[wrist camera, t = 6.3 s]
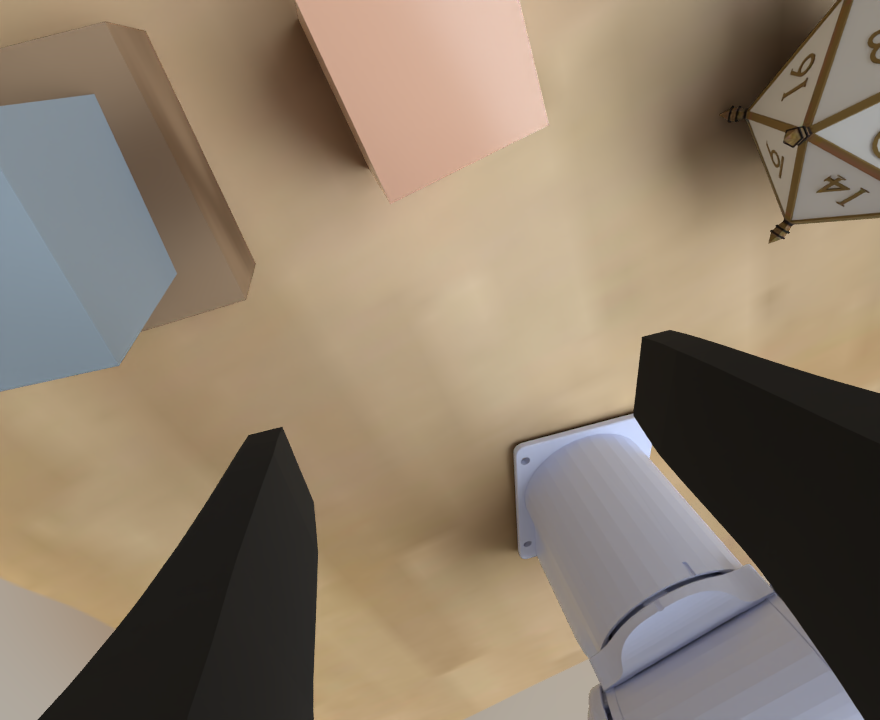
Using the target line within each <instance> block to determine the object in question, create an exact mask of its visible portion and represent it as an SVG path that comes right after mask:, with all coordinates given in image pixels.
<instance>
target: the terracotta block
mask: <svg viewBox="0 0 880 720" xmlns="http://www.w3.org/2000/svg"><path fill="white" fill-rule="evenodd" d="M295 4H296V10H297V16H298V20H299V22H300V24H301V26H302V28H303V30H304V32H305V34H306V36H307V39H308V41H309V43H310V45H311V47H312V49H313V51H314V53H315V56H316V58H317V60H318V62H319V64H320V66H321V68H322V70H323V72H324V75H325V77H326V79H327V81H328V83H329V85H330V87H331V89H332V91H333V94H334V96H335V98H336V100H337V102H338V104H339V106H340V108H341V110H342V113H343V115H344V117H345V119H346V121H347V123H348V125H349V127H350V129H351V132H352V134H353V136H354V138H355V140H356V142H357V144H358V146H359V148H360V151H361V153H362V155H363V157H364V159H365V161H366V163H367V165H368V167H369V169H370V171H371V173H372V174H373V176H374V178H375V179H376V181H377V183H378V184H379V186H380V187H381V189H382V191H383V192H384V194H385V196H386V197H387V199H388V201H389V202H390V204H391V203H393V202H395V201H397V200H399V199H401V198H403V197H405V196H407V195H409V194H411V193H413V192H415V191H417V190H419V189H421V188H423V187H425V186H427V185H430V184H432V183H434V182H436V181H438V180H440V179H442V178H444V177H446V176H448V175H450V174H452V173H454V172H456V171H458V170H460V169H462V168H464V167H466V166H468V165H470V164H472V163H474V162H476V161H478V160H480V159H482V158H484V157H486V156H488V155H490V154H492V153H494V152H496V151H498V150H500V149H502V148H504V147H506V146H508V145H510V144H512V143H514V142H516V141H518V140H520V139H522V138H524V137H526V136H528V135H530V134H532V133H534V132H536V131H538V130H540V129H542V128H544V127H546V126H548V125H549V122H548V118H547V114H546V109H545V105H544V101H543V97H542V93H541V88H540V84H539V80H538V76H537V72H536V67H535V63H534V59H533V55H532V50H531V46H530V42H529V38H528V34H527V29H526V25H525V21H524V17H523V13H522V8H521V4H520V0H295Z"/></svg>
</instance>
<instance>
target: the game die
mask: <svg viewBox="0 0 880 720" xmlns="http://www.w3.org/2000/svg"><path fill="white" fill-rule="evenodd" d="M720 116H721V117H723V118H725V119H726V120H728V122H729V123H731V121H736V122H738V120H742V119H746V121H747V123H748V126H749V129H750V131H751V134H752V136H753V139H754V142H755V144H756V147H757V149H758V152H759V155H760V157H761V160H762V162H763V165H764V168H765V170H766V173H767V175H768V178H769V181H770V183H771V186H772V188H773V191H774V194H775V196H776V199H777V201H778V204H779V207H780V209H781V212H782V215H783V217H784V221H783V222H782V223H780V224H779V225H776V228H775V229H774V230H771V231H770V232H771V235H770V239H769V243H772V242H774V241H777V240H780V239H785V238H784V236H785V235H786V234H787V233H788V234H789V233H790V232H789V230H790V228H791V226H792V225H795V224H808V223H820V222H833V221H846V220H859V219H872V218H880V0H837V2H836V3H835V4H834V5H833V7H832V8H831V9H830V10H829V11H828V13H827V14H826V15H825V16H824V17H823V19H822V20H821V21H820V22H819V24H818V25H817V26H816V27H815V28H814V30H813V31H812V32H811V33H810V34H809V36H808V37H807V38H806V39H805V41H804V42H803V43H802V44H801V45H800V47H799V48H798V49H797V50H796V51H795V53H794V54H793V55H792V56H791V58H790V59H789V60H788V61H787V62H786V64H785V65H784V66H783V67H782V69H781V70H780V71H779V72H778V73H777V75H776V76H775V77H774V78H773V79H772V81H771V82H770V83H769V84H768V86H767V87H766V88H765V89H764V90H763V92H762V93H761V94H760V95H759V96H758V98H757V99H756V100H755V101H754V103H753V104H752V105H751V106H750V107H749V108H748V109H744V108H741V106H739V107H734V106H732V107H731V108H730V109H728V110H727V111H725V112H723V113H722V114H720ZM769 243H768V244H769Z"/></svg>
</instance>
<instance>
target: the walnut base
mask: <svg viewBox="0 0 880 720" xmlns="http://www.w3.org/2000/svg"><path fill="white" fill-rule="evenodd" d="M91 94H95V97H96V99H97V101H98V103H99V105H100V107H101V110H102V112H103V114H104V116H105V118H106V120H107V123H108V125H109V127H110V129H111V131H112V133H113V136H114V138H115V140H116V142H117V144H118V146H119V149H120V151H121V153H122V155H123V157H124V160H125V162H126V164H127V166H128V168H129V170H130V173H131V175H132V177H133V179H134V181H135V183H136V186H137V188H138V190H139V192H140V194H141V196H142V199H143V201H144V203H145V205H146V207H147V209H148V212H149V214H150V216H151V218H152V220H153V223H154V225H155V227H156V229H157V231H158V233H159V236H160V238H161V240H162V242H163V244H164V246H165V249H166V251H167V253H168V255H169V257H170V259H171V262H172V264H173V266H174V268H175V270H176V273H177V275H176V276H175V278H174V279H173V281H172V283H171V284H170V286H169V287H168V289H167V290H166V292H165V294H164V295H163V297H162V298H161V300H160V302H159V303H158V305H157V306H156V308H155V309H154V311H153V313H152V314H151V316H150V317H149V319H148V321H147V322H146V324H145V325H144V327H143V329H142V330H141V332H142V331H145V330H148V329H152V328H155V327H158V326H161V325H165V324H168V323H171V322H175V321H178V320H181V319H184V318H188V317H191V316H194V315H198V314H201V313H204V312H207V311H211V310H214V309H217V308H220V307H224V306H227V305H230V304H234V303H237V302H240V301H243V300H246V298H247V295H248V291H249V287H250V283H251V279H252V276H253V272H254V268H255V264H256V263H255V261H254V259H253V257H252V255H251V253H250V251H249V249H248V247H247V244H246V242H245V240H244V238H243V236H242V234H241V232H240V230H239V228H238V225H237V223H236V221H235V219H234V217H233V215H232V213H231V211H230V208H229V206H228V204H227V202H226V200H225V198H224V196H223V194H222V192H221V189H220V187H219V185H218V183H217V181H216V179H215V177H214V175H213V173H212V170H211V168H210V166H209V164H208V162H207V160H206V158H205V156H204V154H203V151H202V149H201V147H200V145H199V143H198V141H197V139H196V137H195V134H194V132H193V130H192V128H191V126H190V124H189V122H188V120H187V118H186V115H185V113H184V111H183V109H182V107H181V105H180V103H179V101H178V99H177V96H176V94H175V92H174V90H173V88H172V86H171V84H170V82H169V80H168V77H167V75H166V73H165V71H164V69H163V67H162V65H161V63H160V61H159V58H158V56H157V54H156V52H155V50H154V48H153V46H152V44H151V41H150V39H149V37H148V35H147V33H146V31H143V30H139V29H134V28H130V27H126V26H121V25H117V24H113V23H108V22H102V23H98V24H94V25H90V26H86V27H82V28H78V29H74V30H70V31H66V32H62V33H58V34H54V35H50V36H46V37H42V38H38V39H34V40H31V41H27V42H23V43H19V44H15V45H11V46H7V47H3V48H0V106H5V105H13V104H21V103H28V102H36V101H44V100H52V99H60V98H67V97H75V96H83V95H91Z"/></svg>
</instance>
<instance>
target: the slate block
mask: <svg viewBox="0 0 880 720" xmlns="http://www.w3.org/2000/svg"><path fill="white" fill-rule="evenodd" d="M176 275H177V273H176V270H175V268H174V266H173V264H172V262H171V259H170V257H169V255H168V253H167V251H166V249H165V246H164V244H163V242H162V240H161V238H160V236H159V233H158V231H157V229H156V227H155V225H154V223H153V220H152V218H151V216H150V214H149V212H148V209H147V207H146V205H145V203H144V201H143V199H142V196H141V194H140V192H139V190H138V188H137V186H136V183H135V181H134V179H133V177H132V175H131V173H130V170H129V168H128V166H127V164H126V162H125V160H124V157H123V155H122V153H121V151H120V149H119V146H118V144H117V142H116V140H115V138H114V136H113V133H112V131H111V129H110V127H109V125H108V123H107V120H106V118H105V116H104V114H103V112H102V110H101V107H100V105H99V103H98V101H97V99H96V97H95V94H91V95H83V96H75V97H67V98H60V99H52V100H44V101H36V102H28V103H21V104H13V105H5V106H0V391H5V390H10V389H14V388H19V387H23V386H28V385H32V384H37V383H42V382H46V381H51V380H55V379H60V378H65V377H69V376H74V375H78V374H83V373H88V372H92V371H97V370H101V369H106V368H110V367H115V366H119V365H120V363H121V362H122V360H123V359H124V357H125V355H126V354H127V352H128V351H129V349H130V348H131V346H132V344H133V343H134V341H135V340H136V338H137V336H138V335H139V333H140V332H141V330H142V329H143V327H144V325H145V324H146V322H147V321H148V319H149V317H150V316H151V314H152V313H153V311H154V309H155V308H156V306H157V305H158V303H159V302H160V300H161V298H162V297H163V295H164V294H165V292H166V290H167V289H168V287H169V286H170V284H171V283H172V281H173V279H174V278H175V276H176Z"/></svg>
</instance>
